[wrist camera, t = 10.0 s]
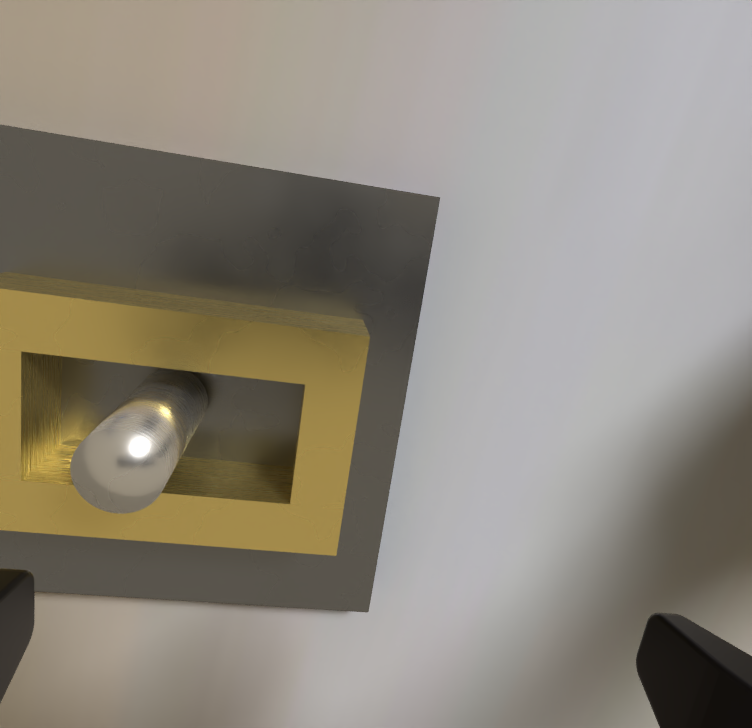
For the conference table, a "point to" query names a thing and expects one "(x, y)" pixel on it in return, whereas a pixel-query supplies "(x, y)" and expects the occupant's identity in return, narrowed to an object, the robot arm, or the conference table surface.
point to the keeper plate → (204, 390)
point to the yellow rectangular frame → (191, 475)
